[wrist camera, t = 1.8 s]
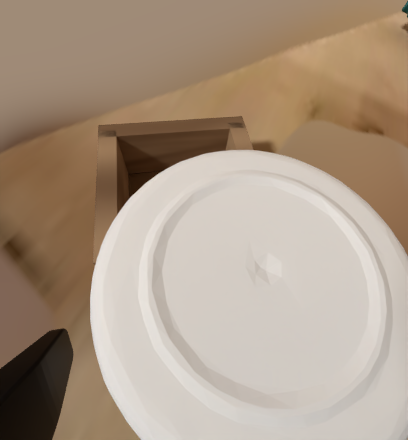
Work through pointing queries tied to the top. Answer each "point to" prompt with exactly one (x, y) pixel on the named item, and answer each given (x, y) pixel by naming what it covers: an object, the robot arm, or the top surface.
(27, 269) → the top surface
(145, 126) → the cradle
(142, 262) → the sprinkles bottle
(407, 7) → the crushed plastic bottle
